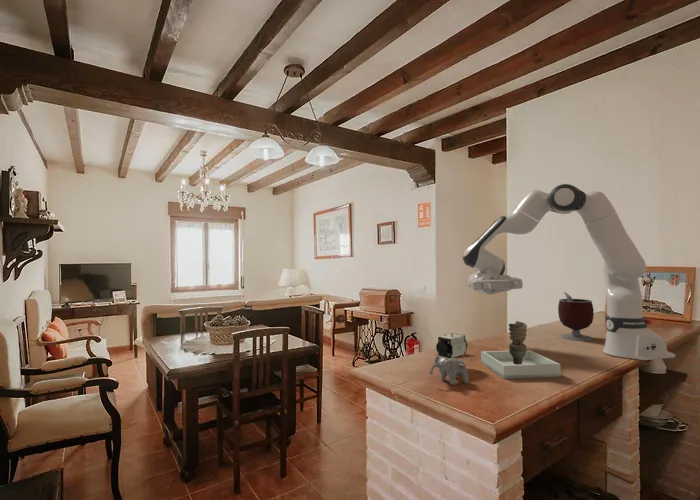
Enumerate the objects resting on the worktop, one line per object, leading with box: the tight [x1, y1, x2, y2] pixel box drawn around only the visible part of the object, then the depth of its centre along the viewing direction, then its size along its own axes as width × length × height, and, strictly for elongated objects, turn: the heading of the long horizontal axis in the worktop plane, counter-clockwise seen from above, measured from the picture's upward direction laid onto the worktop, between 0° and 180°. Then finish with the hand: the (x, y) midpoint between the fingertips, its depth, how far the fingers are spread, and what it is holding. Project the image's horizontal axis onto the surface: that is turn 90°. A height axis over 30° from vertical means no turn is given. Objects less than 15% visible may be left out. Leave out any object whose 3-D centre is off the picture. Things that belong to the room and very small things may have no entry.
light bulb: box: [508, 320, 528, 365], centre depth 128 cm, size 6×6×15 cm
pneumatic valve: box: [435, 332, 468, 360], centre depth 130 cm, size 6×12×12 cm, turn 130°
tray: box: [480, 349, 562, 380], centre depth 128 cm, size 18×18×4 cm
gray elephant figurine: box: [429, 355, 470, 386], centre depth 115 cm, size 9×12×8 cm
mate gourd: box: [557, 291, 595, 342], centre depth 175 cm, size 16×14×20 cm
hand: (504, 285), depth 147 cm, fingers open, 8 cm apart
